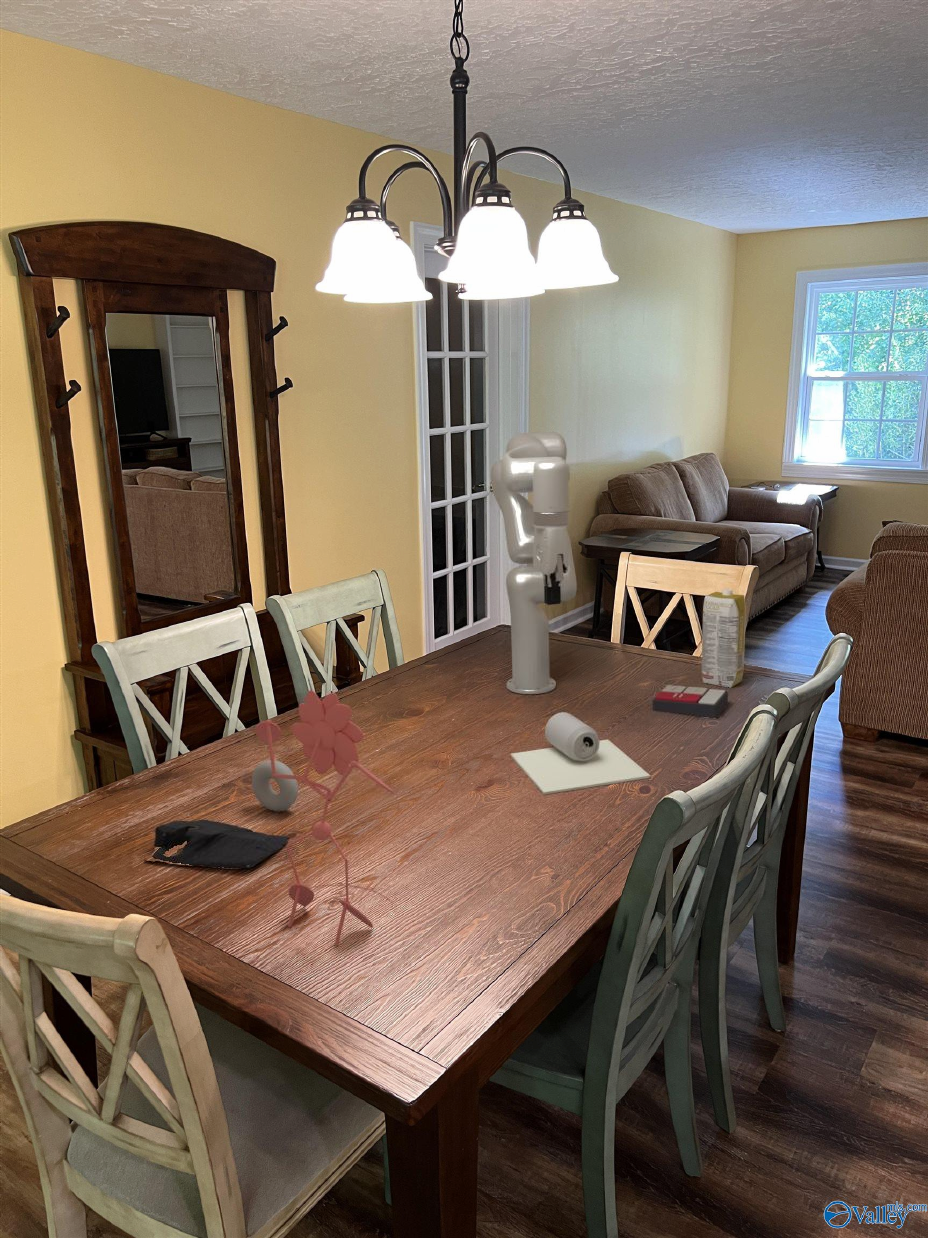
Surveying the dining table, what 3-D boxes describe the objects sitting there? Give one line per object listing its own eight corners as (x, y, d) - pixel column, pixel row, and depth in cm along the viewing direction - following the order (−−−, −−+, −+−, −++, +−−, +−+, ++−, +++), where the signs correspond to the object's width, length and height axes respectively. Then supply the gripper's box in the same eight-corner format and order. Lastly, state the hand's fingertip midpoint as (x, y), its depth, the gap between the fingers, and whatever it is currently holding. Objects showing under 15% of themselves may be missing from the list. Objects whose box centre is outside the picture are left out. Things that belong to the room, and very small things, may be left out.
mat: (510, 756, 191) (510, 753, 191) (607, 741, 197) (607, 739, 197) (543, 794, 173) (543, 792, 172) (650, 777, 178) (650, 775, 178)
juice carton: (746, 681, 232) (749, 589, 226) (732, 690, 226) (735, 595, 220) (711, 675, 238) (714, 585, 232) (697, 683, 232) (700, 591, 226)
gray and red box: (666, 683, 223) (728, 688, 215) (666, 700, 224) (728, 705, 216) (651, 697, 214) (716, 702, 206) (652, 714, 214) (716, 720, 207)
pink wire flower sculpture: (378, 968, 123) (364, 721, 115) (245, 914, 137) (224, 691, 129) (444, 915, 135) (435, 689, 127) (315, 871, 149) (300, 665, 141)
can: (580, 723, 196) (609, 742, 185) (559, 751, 196) (587, 771, 185) (558, 704, 193) (586, 722, 182) (536, 732, 192) (563, 751, 182)
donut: (304, 811, 170) (299, 761, 167) (292, 819, 167) (288, 768, 165) (262, 802, 174) (257, 753, 172) (250, 809, 172) (245, 760, 169)
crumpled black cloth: (246, 884, 146) (243, 858, 145) (137, 863, 154) (133, 838, 153) (297, 840, 160) (295, 815, 159) (194, 823, 168) (191, 799, 167)
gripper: (522, 516, 199) (524, 598, 204) (546, 525, 185) (548, 613, 190) (555, 513, 201) (556, 595, 206) (581, 522, 187) (582, 609, 192)
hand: (552, 603), depth 198 cm, fingers closed
